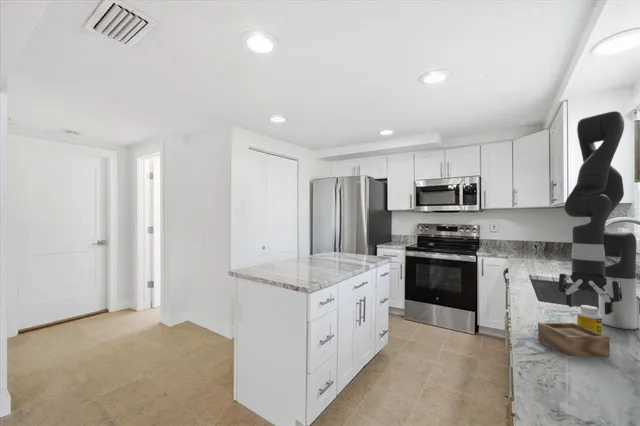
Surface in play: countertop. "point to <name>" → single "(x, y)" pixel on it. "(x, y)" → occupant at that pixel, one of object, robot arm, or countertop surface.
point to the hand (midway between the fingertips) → (588, 310)
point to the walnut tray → (574, 339)
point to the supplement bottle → (590, 318)
